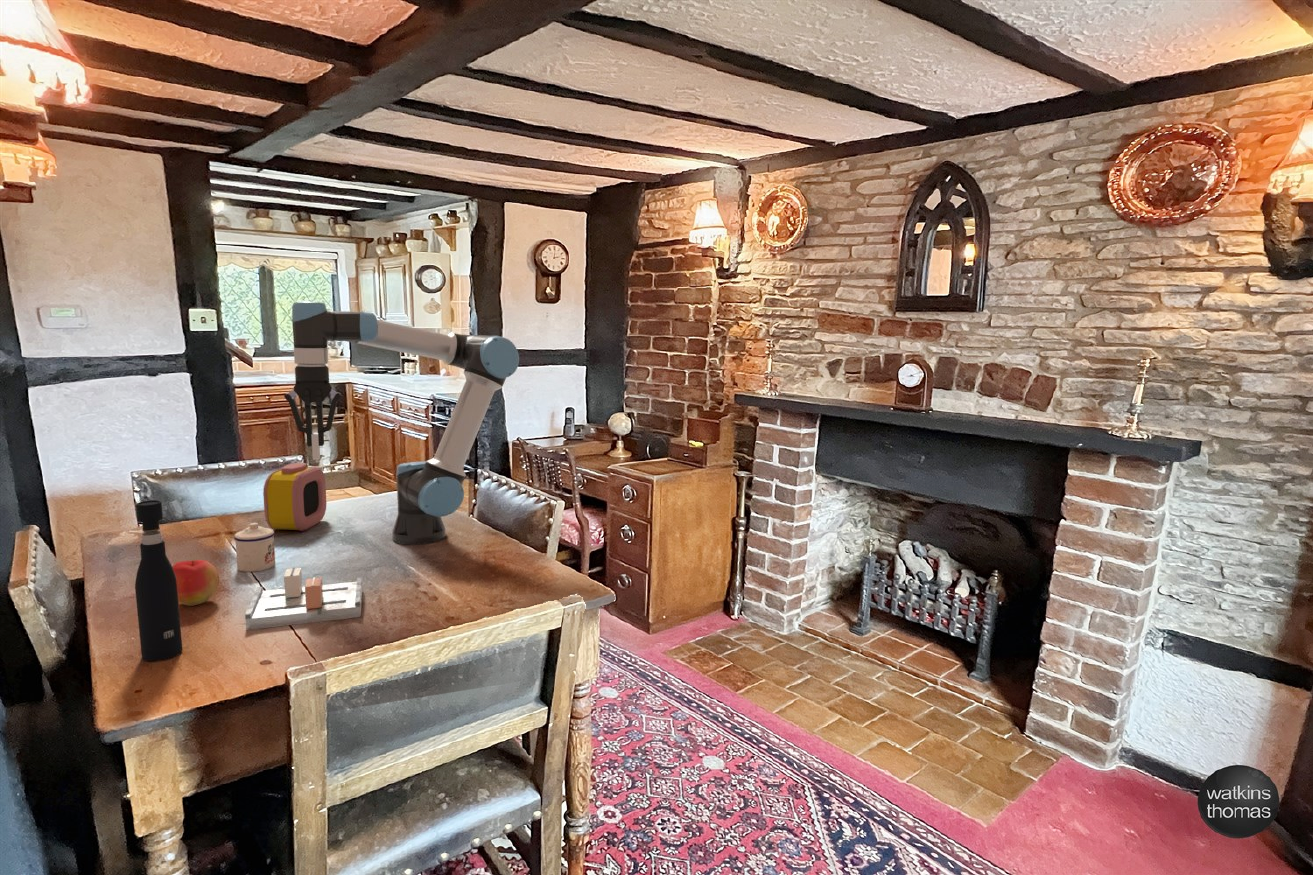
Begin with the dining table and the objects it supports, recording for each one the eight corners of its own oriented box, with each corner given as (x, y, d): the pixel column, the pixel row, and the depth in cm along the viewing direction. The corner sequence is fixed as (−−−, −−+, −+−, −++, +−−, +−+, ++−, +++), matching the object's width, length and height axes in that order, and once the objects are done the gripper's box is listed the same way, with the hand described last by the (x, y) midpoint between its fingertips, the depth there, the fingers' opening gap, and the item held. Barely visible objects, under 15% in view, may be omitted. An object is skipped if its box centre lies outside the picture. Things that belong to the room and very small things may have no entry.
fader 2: (323, 598, 156) (321, 576, 155) (321, 607, 152) (320, 584, 151) (308, 600, 155) (306, 577, 154) (305, 608, 151) (304, 586, 150)
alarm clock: (299, 535, 209) (296, 472, 206) (263, 534, 209) (258, 471, 206) (329, 518, 227) (326, 460, 224) (295, 517, 227) (292, 459, 224)
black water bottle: (155, 646, 137) (141, 498, 132) (189, 646, 138) (177, 498, 133) (134, 662, 131) (118, 507, 126) (170, 661, 131) (156, 507, 127)
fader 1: (302, 588, 162) (301, 566, 161) (300, 596, 157) (298, 574, 156) (287, 589, 161) (286, 568, 160) (285, 597, 156) (283, 575, 155)
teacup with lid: (273, 570, 180) (271, 526, 178) (233, 574, 176) (230, 529, 174) (279, 555, 191) (277, 514, 189) (241, 559, 187) (238, 517, 185)
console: (362, 587, 170) (361, 574, 170) (360, 620, 151) (359, 605, 151) (259, 597, 162) (259, 583, 162) (244, 634, 143) (243, 618, 143)
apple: (182, 615, 152) (178, 571, 150) (161, 605, 157) (157, 562, 155) (228, 601, 160) (225, 559, 158) (207, 592, 165) (204, 551, 163)
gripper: (341, 364, 178) (345, 455, 182) (284, 364, 174) (289, 457, 177) (339, 366, 172) (343, 460, 175) (280, 366, 167) (285, 462, 171)
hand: (316, 458), depth 176 cm, fingers closed
